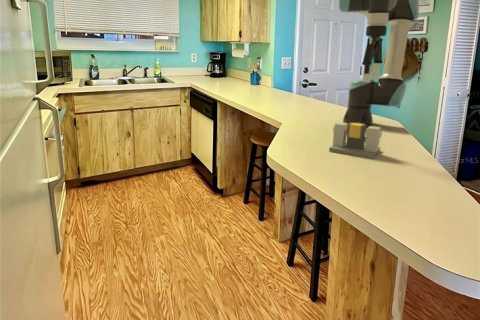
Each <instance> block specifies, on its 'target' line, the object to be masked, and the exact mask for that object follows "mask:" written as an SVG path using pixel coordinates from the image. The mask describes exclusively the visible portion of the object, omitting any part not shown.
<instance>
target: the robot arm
mask: <svg viewBox="0 0 480 320" xmlns="http://www.w3.org/2000/svg"><path fill="white" fill-rule="evenodd" d="M419 1H420V0H338V8H339V11H340V12H341V13H359V14H363V15H364V16H365V17H366V18H365V19H367V20H366V21H367V22H366V25H367V26H366V31H365V36H367V37H369V38H367V41H366V47H365V52H364V57H363V59H362V60H363V61H362V63H361V65H362V66H363V72H362V73H363V74H362V79H361V78H360V79H354V80H352V81H350V85H349V89H348V90H349V91H348V101H347V103H348V104H347V110H346V111H345V114H344V116H343V120H342V123H348V124H349V123H350V122H353V123H358V122H360V123H362V124H366V126H367V127H369V126H373V122H374V121H373V120H374V119H373V115H372V112H371V111H372V110H371V109H372V106H381V107H382V106H383V107H388V108H389V107H395V108H396V107H399V106H400V105H401V103H402V101H403V99H404V96H405V93H406V88H407V85H406V83H405V82H404V79H403V77H402V71H403V66H404V65H403V64H404V61H405V53H406V48H407V42H408V38H409V37H408V35H409V31H410V28H411V26H413V24H414V22H415V21H414V20H417V19H419V14H420V13H419V12H420V7H419V5H420V3H419ZM387 25H389V27H390V29H389V34H388V40H387V47H386V52H385V57H384V65H383V71H382V75H381V76H379V75H380V70H381V69H380V68H381V64H383V40H384V39H383V38H382V37H385V36H387V31H388V30H387V29H388V27H387ZM375 80H377V81H375ZM348 124H347V125H348Z"/></svg>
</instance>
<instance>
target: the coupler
mask: <svg viewBox="0 0 480 320" xmlns="http://www.w3.org/2000/svg"><path fill="white" fill-rule="evenodd" d="M365 129H366V124H359V123H353V122H350V123H349V124H347V134H346V138H347V137H353V138H360V139H362V138H363V137H365V138H366V135H365Z"/></svg>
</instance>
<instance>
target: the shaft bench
mask: <svg viewBox="0 0 480 320" xmlns="http://www.w3.org/2000/svg"><path fill="white" fill-rule="evenodd" d="M347 126H348V123H343V122H340V121H337V122H336V123H334V124H333V126H332V131H333V138H332V145H331V146H330V147H329V150H328V151H329V152H331V153H338V154H342V155H343V154H344V155H349V156H355V157H361V158H368V159H372V158H375V157H376V155H378V154H379V153H380V152H381V146H380V138H382V135H383V129H382V128H381V126H373V125H369V126H367V127H368V128H367V129H366V132H365V137H363V138H362V139H360V138H353V137H347ZM365 140H366V141H365ZM379 146H380V147H379Z"/></svg>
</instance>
